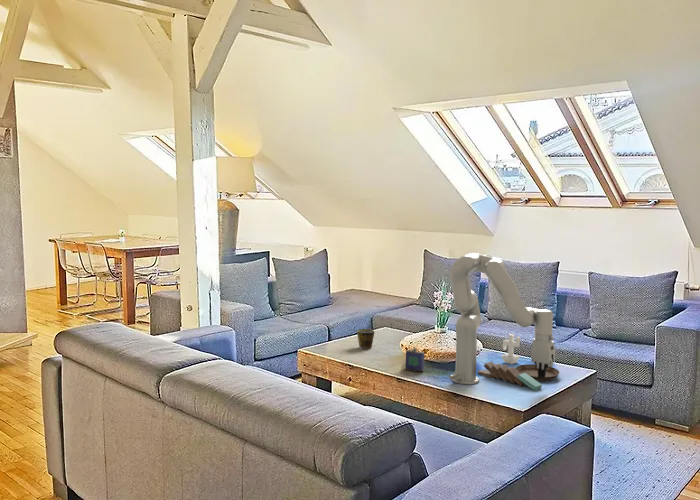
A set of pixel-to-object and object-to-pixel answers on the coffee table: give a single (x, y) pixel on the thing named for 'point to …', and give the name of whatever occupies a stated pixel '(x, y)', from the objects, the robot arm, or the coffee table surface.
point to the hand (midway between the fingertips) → (541, 377)
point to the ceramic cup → (365, 338)
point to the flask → (414, 360)
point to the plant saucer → (533, 372)
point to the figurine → (511, 349)
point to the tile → (529, 381)
